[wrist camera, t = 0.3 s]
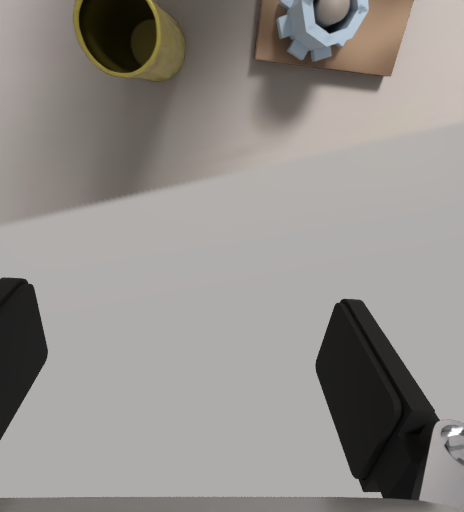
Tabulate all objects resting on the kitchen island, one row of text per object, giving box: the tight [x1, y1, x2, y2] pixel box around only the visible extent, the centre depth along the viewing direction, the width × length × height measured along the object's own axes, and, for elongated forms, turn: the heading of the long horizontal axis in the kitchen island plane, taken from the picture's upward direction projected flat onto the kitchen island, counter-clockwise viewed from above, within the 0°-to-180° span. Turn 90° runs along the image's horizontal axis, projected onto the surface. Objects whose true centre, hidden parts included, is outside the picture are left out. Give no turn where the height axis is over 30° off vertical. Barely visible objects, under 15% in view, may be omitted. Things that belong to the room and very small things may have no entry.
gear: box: [276, 0, 369, 62], centre depth 28 cm, size 7×7×6 cm
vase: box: [73, 0, 185, 81], centre depth 26 cm, size 6×6×14 cm
